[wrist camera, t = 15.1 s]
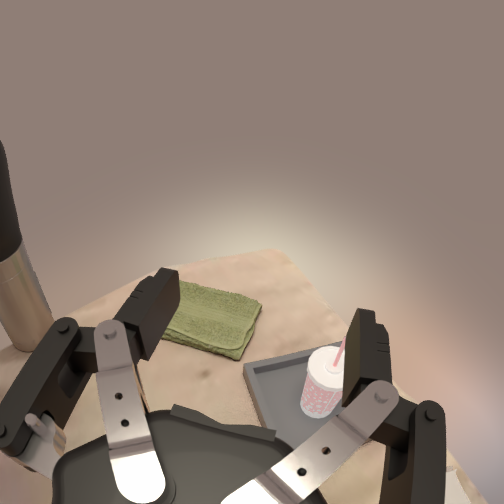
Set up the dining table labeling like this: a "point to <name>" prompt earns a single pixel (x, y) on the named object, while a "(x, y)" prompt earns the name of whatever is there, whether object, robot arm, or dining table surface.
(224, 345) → the washcloth
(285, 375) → the grey tray
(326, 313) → the dining table surface
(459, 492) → the origami figure
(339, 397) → the beverage cup
